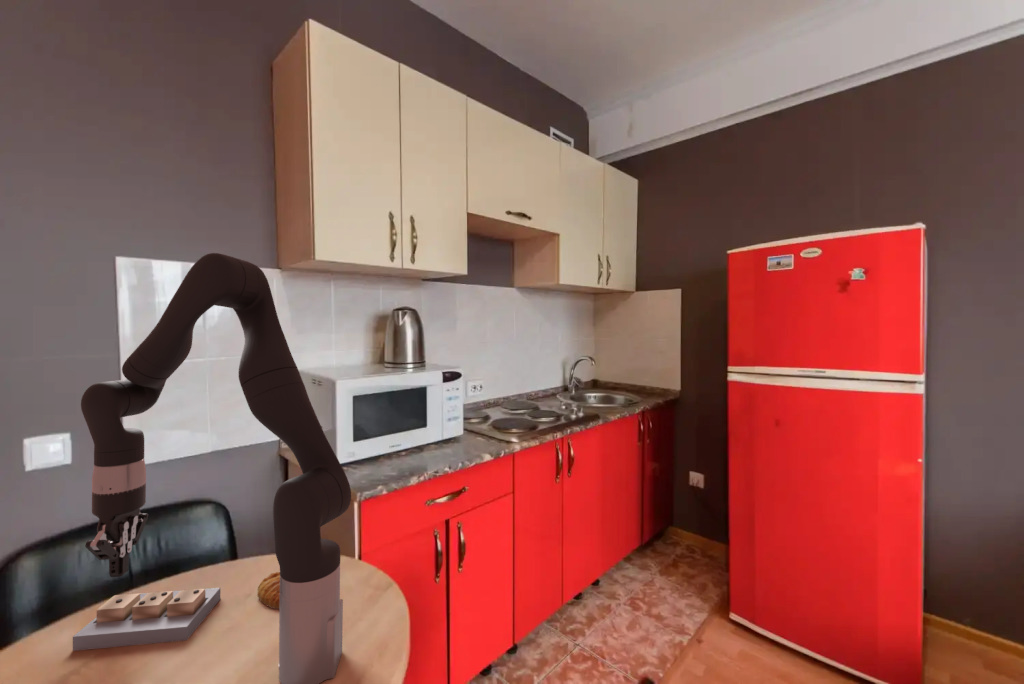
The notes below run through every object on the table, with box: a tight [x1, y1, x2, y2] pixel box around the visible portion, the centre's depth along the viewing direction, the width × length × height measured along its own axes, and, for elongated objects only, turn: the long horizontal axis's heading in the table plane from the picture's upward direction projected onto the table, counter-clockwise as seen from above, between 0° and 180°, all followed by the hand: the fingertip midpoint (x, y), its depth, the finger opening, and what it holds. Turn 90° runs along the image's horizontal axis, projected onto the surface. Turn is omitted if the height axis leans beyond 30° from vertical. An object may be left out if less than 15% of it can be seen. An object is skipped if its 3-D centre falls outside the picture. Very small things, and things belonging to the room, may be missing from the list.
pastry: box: [256, 571, 280, 610], centre depth 90 cm, size 9×7×4 cm
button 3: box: [132, 590, 174, 620], centre depth 81 cm, size 4×4×3 cm
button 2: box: [167, 588, 206, 617], centre depth 82 cm, size 4×4×3 cm
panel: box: [72, 587, 221, 651], centre depth 82 cm, size 18×12×2 cm, turn 100°
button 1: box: [96, 592, 141, 623], centre depth 80 cm, size 4×4×3 cm
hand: (119, 574), depth 80 cm, fingers closed
